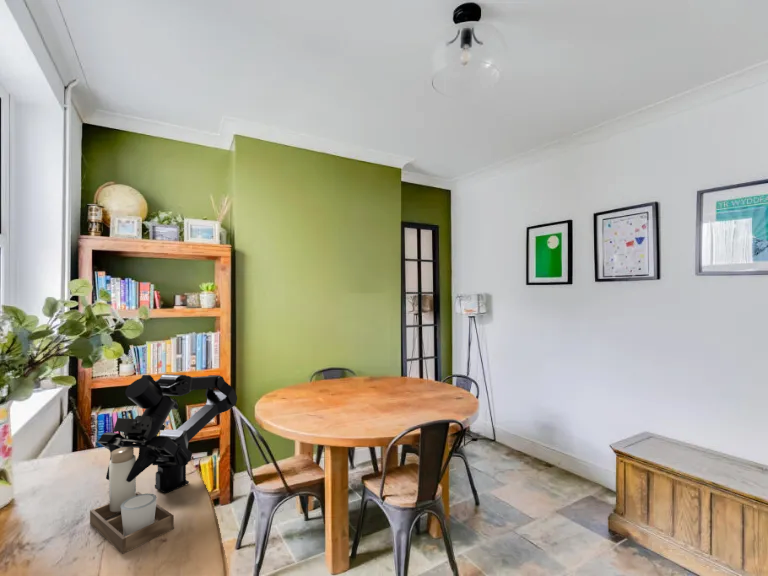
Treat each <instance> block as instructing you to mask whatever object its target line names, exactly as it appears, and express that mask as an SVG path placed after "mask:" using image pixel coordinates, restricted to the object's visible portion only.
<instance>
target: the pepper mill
mask: <svg viewBox="0 0 768 576" xmlns="http://www.w3.org/2000/svg"><path fill="white" fill-rule="evenodd" d="M134 450H135V449H134V448H133V447H123V448H119V449H116V450H114V451H112V452H111V453H110V455H111V460H110V459H109V462H108V467H109V480H108V482H109V483H108V484H109V485H108V487H109V488H108V489H109V491H108V492H109V495H108V496H109V501H108V503H109V505H110V511H112V512H119V511H121V504H122V503H123V502H124V501H126V500H127V499H129V498H131V497H133V496H136V492H137V477H135V478H134V479H133V480H132V481H131V482H128V481H126V480H127V477H128V475H129V473H130V471H131V469H132V467H133V465H134V463H135V462H136V460H137V458H136V457H137V456H136V455H135V453H134Z"/></svg>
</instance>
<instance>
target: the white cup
mask: <svg viewBox="0 0 768 576" xmlns="http://www.w3.org/2000/svg"><path fill="white" fill-rule="evenodd" d="M157 499H158V498H157V494H153V493H141V494H140V495H137V496H133V497H131V498H129V499H127V500H126V501H124V502H123V503H122V504H121V512H120V513H121V514H120V515H122V524H123V529H122V533H123V536H124V537H125V536H127V535H129V534H131V533H134V532H136V531H138V530H140V529H142V528H144V527H147V526H149V525H151V524H153V523H155V520H156V519H155V510H156V504H157Z"/></svg>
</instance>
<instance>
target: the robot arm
mask: <svg viewBox="0 0 768 576" xmlns="http://www.w3.org/2000/svg"><path fill="white" fill-rule="evenodd" d="M234 389H235V388H233V387H232V386H231V385H230V384H229V383H228V382H227V381H226V380H225V378H224V377H223V376H221V375H211V374H210V375H203V376H191V375H186V374H171V373H170V374H168V373H166V374H165V373H163V374H161V376H160V377H159V379H156V380H155V379H154V377H153V376H152V375H150V374H143V375H141V376H140V378H138V379H135V380H134V381H132V382H131V384H128V386H127V387H126V389H125V393H124V394H125V396H126V397H127V398H128V399H129V400H130V401H132V402H133V403H134V404H135V405H136V406H138V407H139V408H140V409H143V410H144V411H143V412H142V414H141V415H136V416H135V417H134V418H127V417H123V418H122V417H117V418H116V421H115V424H114V427H113V430H112V432H104V433H102V434H101V435H100V437H99V439H98V440H97V444H99V445H100V446H103V447H104V448H105V449H107V450H108V451H109V453H110V457H109V461H110V460H111V452H112V451H114V450H116V449H119V448H123V447H133V448H135V449H138V455H137V458H136V462H135V463H134V465H133V467H132V469H131V471H130V473H129V475H128V477H127V480H126V481H128V482H131V481H132V480H133V479H134V478H135V477H136V478H137V477H138V476H139V475H140V474H142V473H143V472H144V471H145V470H146V469H148V468H149V467H150V466H157V471H156V472H155V484H154V488H156V489H158V490H160V492H162V493H165V494H167V493H169V492H172V491H175V490H177V489H179V488H182V487H185V486H186V484H187V485H188V484H190V481H189V480H187V465H189V462H191V460H192V455H193V452H192V451H191V450H190V449H188V447H189V442H190V441H192V439H193V438H195V436H196V435H197V434H198V433H200V432H201V431H202V430H203V429H204V427H206V426H207V425H208V424H209V423H210V422H211V421H212V420H213V419H214V418H215V417H216V416H217V415H219V414H222V413H225V412H228V411H230V410H231V409H233V408H234V407H235V406H236V404H237V400H238V396H237V394H236V391H235V390H234ZM197 390H205V395H204V396H205V397H206V401H205V404H204V405H203V406H202V407H201V408H200V409H199V410H198V411H196V412H195V413H194V414H193V415H192V416H191V417H189V418H188V419H187V420H186V421H185V422H184V423H182V424H181V425H180V426H179V427H178V428H176V429H171V428H170V429H169V428H167V427H166V425H165V424H164V423H165V422H166V420H167V419H168V416H169V415H170V413H171V411H172V410H179V404H178V401H177V399H175V398H174V399H173V398H171V397H170V396H172V397H173V396H174V397H175V396H176V397H183V396H184V395H187V394H189V393H191V391H192V392H193V391H197ZM160 431H161V433H160ZM119 432H121V433H123V434H122V435H121V434H120V433H119ZM159 433H160V434H159ZM126 437H128V438H126ZM105 479H106V480H108V481H109V466H108V467H107V472H106V476H105Z"/></svg>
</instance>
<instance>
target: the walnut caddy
mask: <svg viewBox="0 0 768 576" xmlns="http://www.w3.org/2000/svg"><path fill="white" fill-rule="evenodd" d="M140 494H142V493H141V492H139V491H136V496H137V495H140ZM119 513H121V511H119V512H112V511H110V505H109V502H108V503H106V504H104V505H101V506H99V507H95V508H92V509H90V511H89V525H91V526H92V527H93V528H94V529H95V530H96V531H97V532H98V533H100V534H101V535H102V536H103V537H104V538H105V539H106V540H107V541H108V542H109V543H111V545H113V546H114V548H115V549H117V551H118V552H120V553H121V554H122V555H123V554H125V553H127V552H129V551H132V550H134V549H135V548H138V547H139V546H142V545H144V544H145V543H148V542H150V541H152V540H154V539H156V538H159V537H160V536H162V535H164V534H166V533H168V532H171V531H172V530H174V528H175V527H174V526H175V524H174V523H175V522H174V521H175V520H174V519H175V518H174V514H172V513H171V512H169V511H168V510H166V509H165V508H163V507H161V506H160V505H159V504H158V503H156V510H155V520H157V521H156V522H155V521H154V523H153V524H151V525H149V526H147V527H144V528H142V529H140V530H138V531H136V532H134V533H131V534H129V535H127V536H125V537H124V534H122V533H121V532H120V531H121V530H123V524H122V515H121V514H120V515H117V514H119ZM115 515H117V516H115ZM113 516H114V517H113ZM110 517H111V518H110ZM107 518H109V519H107Z"/></svg>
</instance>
